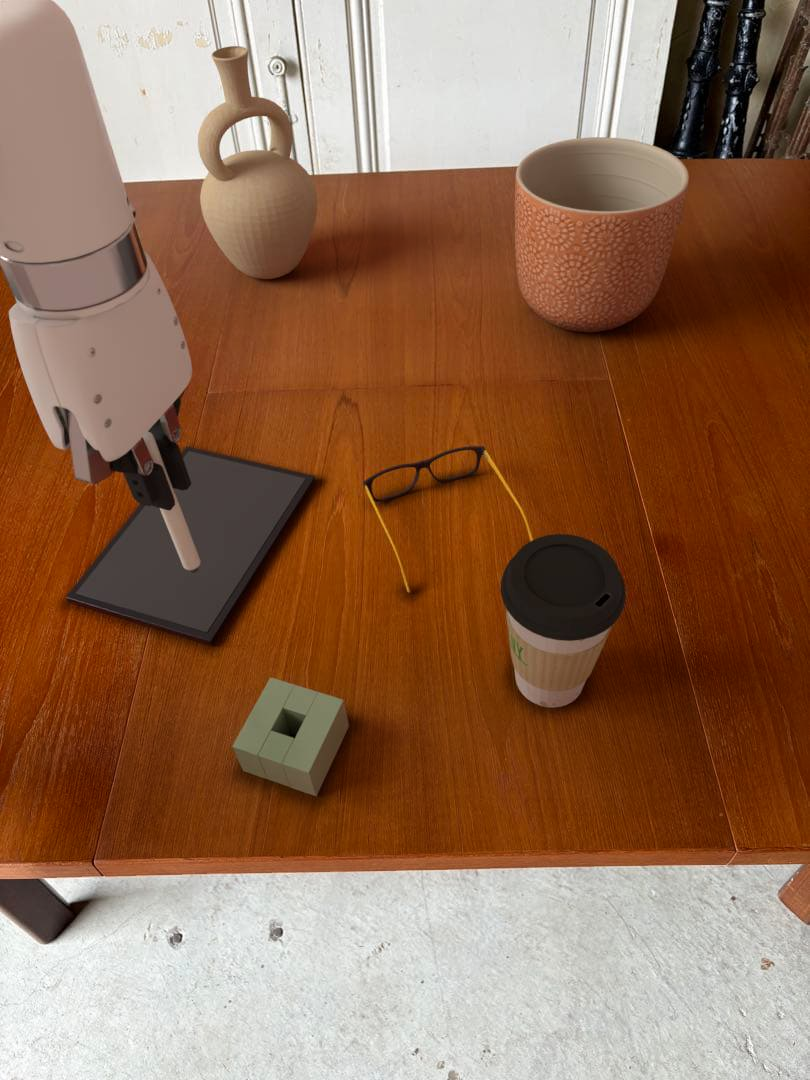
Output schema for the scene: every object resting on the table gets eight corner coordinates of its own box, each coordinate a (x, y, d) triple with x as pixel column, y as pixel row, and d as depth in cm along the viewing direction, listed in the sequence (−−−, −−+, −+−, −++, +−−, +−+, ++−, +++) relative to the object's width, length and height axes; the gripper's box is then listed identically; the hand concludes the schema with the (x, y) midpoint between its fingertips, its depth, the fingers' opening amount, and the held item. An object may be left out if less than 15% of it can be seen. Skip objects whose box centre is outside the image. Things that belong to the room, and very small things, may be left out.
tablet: (68, 602, 83) (64, 596, 83) (188, 451, 98) (186, 445, 97) (212, 646, 79) (210, 640, 78) (316, 481, 93) (314, 475, 93)
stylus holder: (242, 771, 70) (231, 746, 67) (279, 703, 74) (270, 676, 71) (316, 796, 68) (308, 772, 65) (349, 725, 72) (343, 699, 69)
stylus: (182, 574, 65) (128, 442, 55) (191, 561, 66) (140, 429, 56) (197, 578, 65) (145, 446, 54) (206, 566, 66) (157, 433, 55)
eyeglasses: (480, 465, 94) (480, 439, 91) (536, 553, 84) (539, 527, 81) (363, 500, 91) (359, 474, 88) (408, 595, 82) (406, 569, 79)
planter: (690, 329, 109) (725, 189, 95) (550, 368, 105) (564, 228, 91) (612, 257, 122) (632, 124, 108) (485, 288, 118) (488, 155, 104)
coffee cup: (541, 616, 79) (554, 509, 68) (626, 676, 74) (655, 572, 63) (473, 679, 75) (475, 576, 64) (558, 747, 70) (576, 649, 59)
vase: (254, 310, 118) (205, 87, 95) (198, 267, 127) (142, 53, 104) (347, 268, 124) (321, 49, 102) (287, 230, 133) (252, 21, 111)
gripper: (103, 189, 51) (178, 417, 65) (-79, 324, 42) (54, 557, 55) (205, 205, 49) (260, 437, 63) (38, 351, 40) (146, 586, 53)
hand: (163, 492), depth 59 cm, fingers closed on stylus, 1 cm apart
